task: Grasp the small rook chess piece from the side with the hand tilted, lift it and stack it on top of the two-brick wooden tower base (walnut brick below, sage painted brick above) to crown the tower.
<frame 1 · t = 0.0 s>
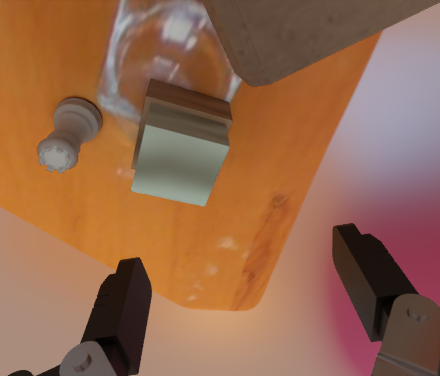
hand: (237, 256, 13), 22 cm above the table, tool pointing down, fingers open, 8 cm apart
tower base: (180, 125, 34), on the table
rook chess piece: (80, 115, 33), on the table
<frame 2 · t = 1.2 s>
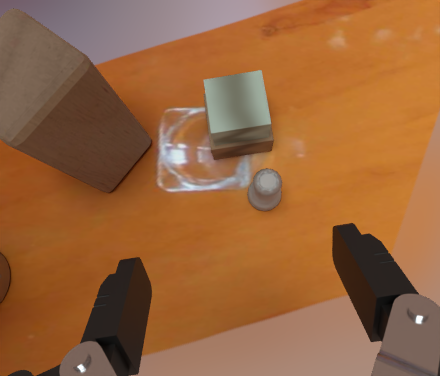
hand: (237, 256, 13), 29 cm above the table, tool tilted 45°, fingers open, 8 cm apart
block: (109, 150, 47), on the table
tower base: (238, 128, 45), on the table
rook chess piece: (264, 195, 43), on the table
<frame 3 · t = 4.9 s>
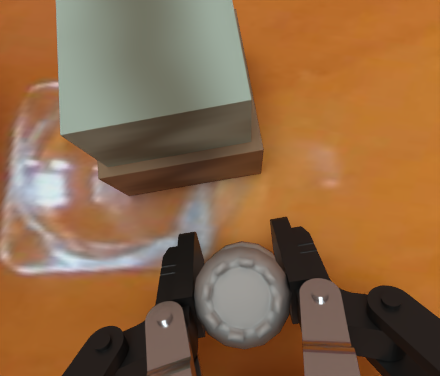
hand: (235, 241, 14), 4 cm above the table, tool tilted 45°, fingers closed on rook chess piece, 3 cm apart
tower base: (185, 123, 20), on the table
rook chess piece: (244, 283, 18), on the table, touching gripper
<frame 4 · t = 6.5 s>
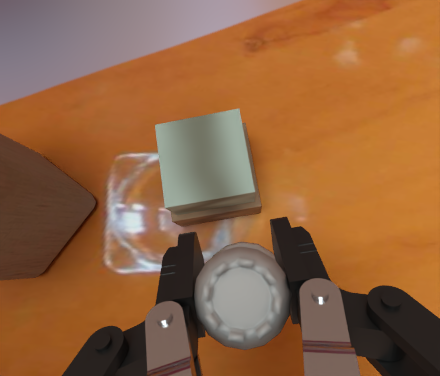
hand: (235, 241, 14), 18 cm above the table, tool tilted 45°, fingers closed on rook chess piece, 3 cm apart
block: (41, 213, 34), on the table
tower base: (214, 181, 33), on the table
rook chess piece: (244, 283, 18), point 13 cm above the table, touching gripper
when the fingers open (13 cm above the table, at t = 8.4 s): rook chess piece drops 1 cm, resting on tower base.
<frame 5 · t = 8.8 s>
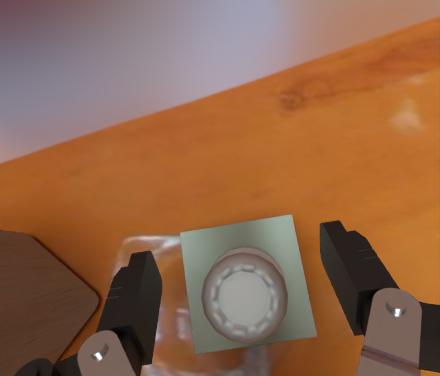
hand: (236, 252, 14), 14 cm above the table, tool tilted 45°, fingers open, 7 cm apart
block: (31, 309, 28), on the table
tower base: (246, 276, 27), on the table
rook chess piece: (246, 284, 19), point 8 cm above the table, touching tower base
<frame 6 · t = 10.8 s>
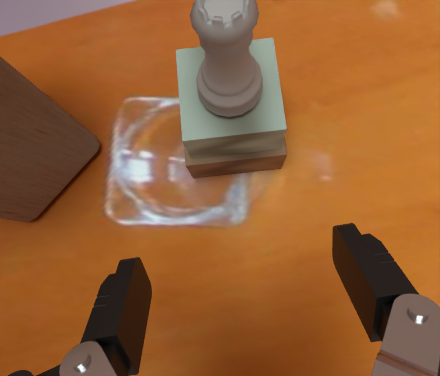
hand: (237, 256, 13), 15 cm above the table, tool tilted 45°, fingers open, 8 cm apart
block: (37, 155, 31), on the table
tower base: (232, 132, 30), on the table
rook chess piece: (230, 91, 22), point 8 cm above the table, touching tower base
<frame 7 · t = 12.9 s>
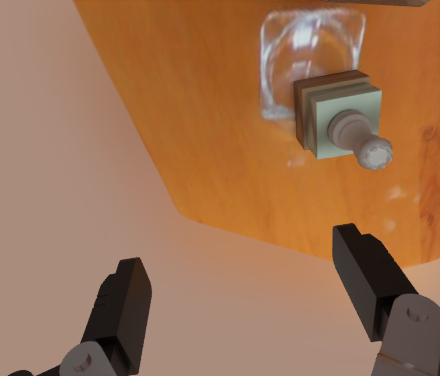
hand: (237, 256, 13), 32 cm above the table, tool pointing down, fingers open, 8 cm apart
tower base: (325, 105, 43), on the table
rook chess piece: (345, 127, 36), point 8 cm above the table, touching tower base
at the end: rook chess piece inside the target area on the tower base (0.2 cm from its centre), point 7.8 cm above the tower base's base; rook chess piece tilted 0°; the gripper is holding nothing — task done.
